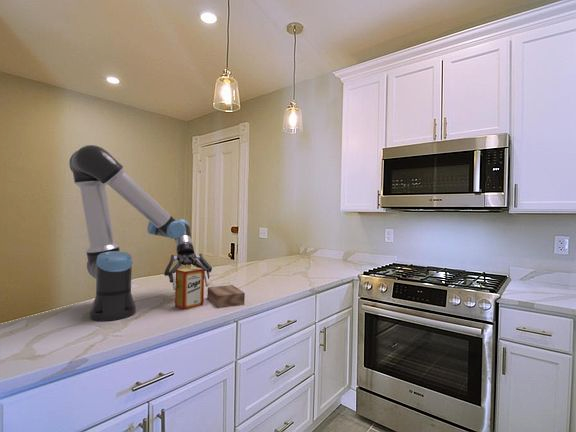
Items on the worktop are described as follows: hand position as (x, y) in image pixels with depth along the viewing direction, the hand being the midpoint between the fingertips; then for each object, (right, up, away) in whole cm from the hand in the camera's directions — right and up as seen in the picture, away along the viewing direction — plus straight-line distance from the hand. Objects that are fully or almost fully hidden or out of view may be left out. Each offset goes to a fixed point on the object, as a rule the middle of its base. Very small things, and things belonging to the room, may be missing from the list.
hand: (191, 286), depth 129 cm
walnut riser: (+13, -8, +8) cm, 17 cm away
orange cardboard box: (-1, -8, 0) cm, 8 cm away
